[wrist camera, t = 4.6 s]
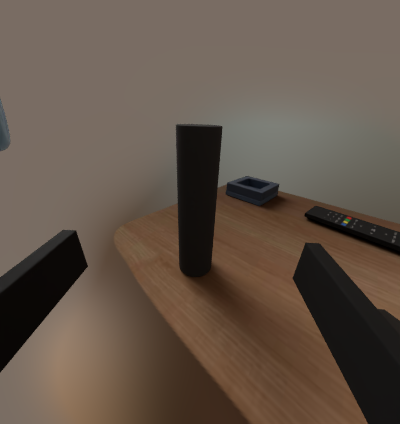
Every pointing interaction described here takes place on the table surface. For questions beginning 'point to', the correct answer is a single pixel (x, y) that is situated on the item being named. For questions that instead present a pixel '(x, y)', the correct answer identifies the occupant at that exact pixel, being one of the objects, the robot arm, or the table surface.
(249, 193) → the socket pad
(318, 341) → the table surface
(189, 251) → the tall dark cylinder
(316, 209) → the remote control
